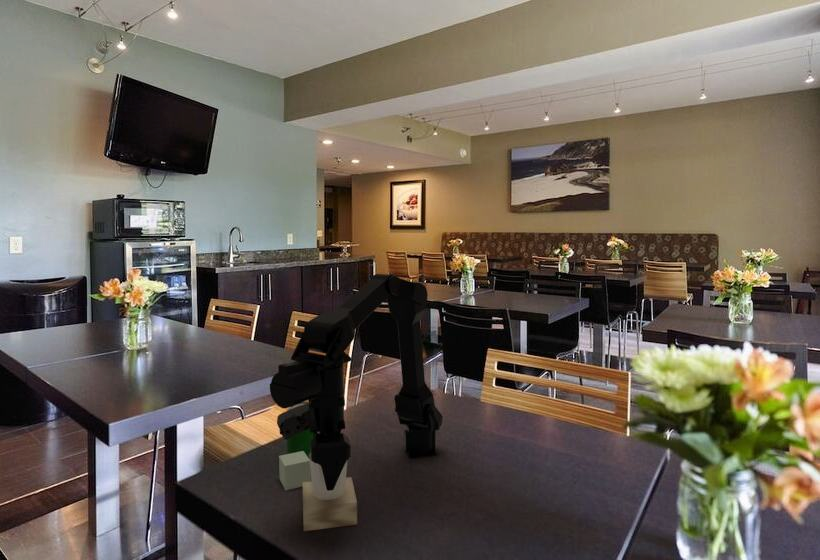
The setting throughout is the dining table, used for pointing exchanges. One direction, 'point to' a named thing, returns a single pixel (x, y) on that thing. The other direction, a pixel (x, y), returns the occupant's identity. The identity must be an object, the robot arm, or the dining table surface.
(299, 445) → the soda can
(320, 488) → the shot glass
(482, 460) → the dining table surface
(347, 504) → the maple block
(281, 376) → the robot arm
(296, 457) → the sage cube
